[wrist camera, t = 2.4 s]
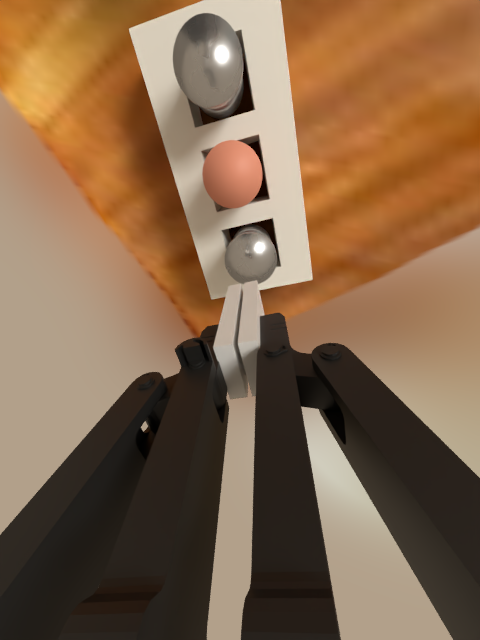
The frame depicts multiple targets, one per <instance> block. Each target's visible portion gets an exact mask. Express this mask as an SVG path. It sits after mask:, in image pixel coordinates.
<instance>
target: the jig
mask: <svg viewBox="0 0 480 640" xmlns="http://www.w3.org/2000/svg"><path fill="white" fill-rule="evenodd" d="M202 13H211V14H215V15H218V16H220V17H221V18H223V19H224V20H225V21H227V22H228V23H229V24H230V25H231V27H232V28H233V30H234V31H235V33H236V35H237V37H238V39H239V42H240V45H241V49H242V55H243V59H244V58H245V64H246V70H247V76H248V82H249V88H250V94H251V100H252V105H253V111H249V112H246V113H243V114H239V115H236V116H233V117H230V118H226V119H223V120H220V121H216V122H213V123H210V124H206V125H203V122H202V118H201V114H200V110H199V106H197V105H196V104H194V103H193V102H192V101H191V100H190V99H189V98H188V97H187V96H186V95H185V94H184V92H183V91H182V89H181V88H180V86H179V84H178V82H177V79H176V76H175V73H174V68H173V48H174V44H175V40H176V37H177V35H178V33H179V31H180V29H181V28H182V26H183V25H184V24H185V22H187V21H188V20H189V19H190V18H192V17H193V16H195V15H198V14H202ZM129 32H130V35H131V38H132V42H133V45H134V48H135V51H136V55H137V58H138V61H139V64H140V68H141V71H142V74H143V77H144V81H145V84H146V87H147V91H148V94H149V97H150V100H151V104H152V107H153V110H154V113H155V117H156V120H157V123H158V126H159V130H160V133H161V136H162V139H163V143H164V146H165V149H166V153H167V156H168V159H169V162H170V166H171V169H172V172H173V175H174V179H175V182H176V185H177V188H178V192H179V195H180V198H181V201H182V205H183V208H184V211H185V215H186V218H187V221H188V224H189V228H190V231H191V234H192V237H193V241H194V244H195V247H196V250H197V254H198V257H199V260H200V263H201V267H202V270H203V273H204V277H205V280H206V283H207V286H208V290H209V293H210V296H211V299H217V298H222V297H226V294H227V290H228V286H231V285H236V284H241V283H239V282H237V281H236V280H234V279H233V278H232V277H231V276H230V275H229V273H228V271H227V269H226V266H225V253H226V250H227V247H228V245H229V243H230V242H231V237H230V233H229V228H233V227H237V226H241V225H246V224H250V223H254V222H258V221H263V220H267V219H271V218H272V223H273V229H274V235H275V241H276V247H277V252H278V253H276V254H277V265H276V268H275V270H274V272H273V274H272V275H271V276H270V278H268V279H267V280H266V281H264V282H262V283H260V284H258V287H259V290H263V289H268V288H273V287H278V286H283V285H289V284H294V283H299V282H304V281H309V280H313V278H312V269H311V260H310V252H309V243H308V235H307V226H306V217H305V209H304V200H303V191H302V183H301V174H300V165H299V157H298V148H297V139H296V131H295V122H294V113H293V105H292V96H291V87H290V79H289V70H288V61H287V53H286V44H285V36H284V27H283V18H282V10H281V1H280V0H203V1H201V2H198V3H195V4H193V5H190V6H187V7H185V8H182V9H179V10H177V11H174V12H171V13H169V14H166V15H163V16H161V17H158V18H156V19H153V20H150V21H148V22H145V23H142V24H140V25H137V26H134V27H132V28H129ZM228 140H236V141H240V142H243V143H245V144H251V143H254V142H258V141H259V147H260V152H261V158H262V164H263V170H264V176H265V182H266V188H267V194H268V195H266V196H262V197H258V198H254V199H253V200H252V201H251V202H250V203H248V204H247V205H245V206H243V207H239V208H226V207H223V206H221V205H219V204H217V203H216V202H215V201H214V200H213V199H212V198H211V197H210V196H209V194H208V193H207V191H206V189H205V186H204V183H203V176H202V172H203V165H204V161H205V159H206V157H207V155H208V153H209V152H210V151H211V149H212V148H214V147H215V146H216V145H217V144H219V143H221V142H224V141H228ZM241 286H242V290H243V292H244V284H241Z"/></svg>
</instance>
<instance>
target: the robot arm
mask: <svg viewBox="0 0 480 640" xmlns="http://www.w3.org/2000/svg"><path fill="white" fill-rule="evenodd" d="M175 352H176V354H177V356H178V359H179V361H180V364H181V369H180V372H179V373H178V374H176V375H173V376H171V377H168V378H165V379H163V376H162V375H161V374H160V373H158V372H150V373H146V374H144V375H142V376H140V377H139V378H137V379H136V380H135V381H134V382H133V383H132V384H131V385H130V386H129V387H128V388H127V389H126V391H125V392H124V393H123V394H122V395H121V396H120V398H119V399H118V400H117V401H116V402H115V404H113V406H112V407H111V408H110V409H109V410H108V411H107V412H106V414H105V415H104V416H103V417H102V418H101V419H100V421H99V422H98V423H97V424H96V425H95V427H93V429H92V430H91V431H90V432H89V433H88V434H87V436H86V437H85V438H84V439H83V440H82V441H81V443H80V444H79V445H78V446H77V447H76V448H75V449H74V451H73V452H72V453H71V454H70V455H69V456H68V458H67V459H66V460H65V461H64V462H63V463H62V464H61V466H60V467H59V468H58V469H57V470H56V471H55V473H54V474H53V475H52V476H51V477H50V478H49V479H48V481H47V482H46V483H45V484H44V485H43V486H42V488H41V489H40V490H39V491H38V492H37V493H36V494H35V496H34V497H33V498H32V499H31V500H30V501H29V502H28V504H27V505H26V506H25V507H24V508H23V509H22V511H21V512H20V513H19V514H18V515H17V516H16V517H15V519H14V520H13V521H12V522H11V523H10V524H9V526H8V527H7V528H6V529H5V530H4V531H3V532H2V534H1V535H0V640H207V637H206V636H207V621H208V611H209V601H210V592H211V583H212V573H213V562H214V553H215V543H216V533H217V523H218V513H219V503H220V493H221V483H222V473H223V463H224V454H225V443H226V434H227V423H228V414H229V413H228V412H229V406H228V402H227V399H226V396H227V391H228V394H229V397H230V399H236V398H243V397H247V395H248V394H247V393H248V382H249V385H250V389H251V393H252V396H256V408H255V409H256V410H255V449H254V490H253V491H254V492H253V531H252V571H251V584H250V589H249V591H248V594H247V596H246V598H245V602H244V608H243V616H242V630H241V640H341V638H340V632H339V626H338V621H337V614H336V608H335V603H334V597H333V591H332V585H331V580H330V573H329V568H328V561H327V556H326V550H325V544H324V538H323V532H322V527H321V520H320V515H319V509H318V503H317V497H316V491H315V485H314V480H313V474H312V468H311V462H310V456H309V451H308V444H307V438H306V433H305V427H304V421H303V415H302V409H301V406H302V407H310V408H316V409H319V411H320V414H321V416H322V417H323V419H324V421H325V422H326V424H327V426H328V427H329V429H330V431H331V432H332V434H333V436H334V438H335V439H336V441H337V443H338V444H339V446H340V448H341V450H342V451H343V453H344V455H345V456H346V458H347V460H348V461H349V463H350V465H351V467H352V468H353V470H354V472H355V473H356V475H357V477H358V478H359V480H360V482H361V484H362V485H363V487H364V488H365V490H366V492H367V493H368V495H369V497H370V499H371V500H372V502H373V504H374V506H375V507H376V509H377V511H378V512H379V514H380V516H381V517H382V519H383V521H384V522H385V524H386V526H387V527H388V529H389V531H390V533H391V535H392V536H393V538H394V540H395V541H396V543H397V545H398V546H399V548H400V550H401V552H402V553H403V555H404V557H405V558H406V560H407V562H408V563H409V565H410V567H411V569H412V570H413V572H414V574H415V575H416V577H417V578H418V580H419V582H420V584H421V585H422V587H423V589H424V590H425V592H426V594H427V596H428V597H429V599H430V601H431V603H432V604H433V606H434V608H435V609H436V611H437V613H438V614H439V616H440V618H441V620H442V621H443V623H444V625H445V626H446V628H447V630H448V631H449V633H450V635H451V636H452V638H453V640H480V478H479V477H478V476H477V475H476V474H475V473H474V472H473V471H472V470H471V469H470V468H469V467H468V466H467V465H466V464H465V463H464V462H463V461H462V460H461V459H460V458H459V457H458V456H457V455H456V454H455V453H454V452H453V451H452V450H451V449H449V447H448V446H447V445H445V443H444V442H443V441H442V440H441V439H440V438H439V437H438V436H437V435H436V434H435V433H433V431H432V430H431V429H429V427H428V426H426V425H425V424H424V423H423V422H422V421H421V420H420V419H419V418H418V417H417V416H416V415H415V414H414V413H413V412H412V411H411V410H410V409H409V408H408V407H407V406H406V405H405V404H404V403H403V402H402V401H401V400H400V399H399V398H398V397H397V396H396V395H395V394H394V393H393V392H392V391H391V390H390V389H389V388H388V387H387V386H386V385H385V384H384V383H383V382H382V381H381V380H380V379H379V378H378V377H377V376H376V375H375V374H374V373H373V372H372V371H371V370H370V369H369V368H368V367H367V366H366V365H365V364H364V363H363V362H362V361H361V360H360V359H358V358H357V356H356V355H354V353H353V352H351V351H350V350H349V349H348V348H347V347H345V346H344V345H341V344H337V343H327V344H322V345H320V346H317V347H316V348H315V349H314V350H313V351H312V354H306V353H300V352H297V351H295V350H293V349H292V348H291V346H290V343H289V337H288V332H287V327H286V322H285V317H284V316H283V315H282V314H280V313H275V314H269V315H264V310H263V306H262V301H261V296H260V292H259V287H258V282H257V280H256V281H251V282H246V283H244V292H243V290H242V286H241V284H236V285H231V286H228V290H227V294H226V298H225V302H224V306H223V310H222V314H221V318H220V322H219V324H218V325H212V326H207V327H206V328H205V329H204V330H203V331H202V333H201V336H200V338H192V339H189V340H186V341H184V342H182V343H181V344H180V345H178V346H177V347H176V349H175ZM145 421H146V423H147V425H148V428H147V429H146V430H145V431H144V432H143V431H142V429H141V426H142V424H143V423H144V422H145Z"/></svg>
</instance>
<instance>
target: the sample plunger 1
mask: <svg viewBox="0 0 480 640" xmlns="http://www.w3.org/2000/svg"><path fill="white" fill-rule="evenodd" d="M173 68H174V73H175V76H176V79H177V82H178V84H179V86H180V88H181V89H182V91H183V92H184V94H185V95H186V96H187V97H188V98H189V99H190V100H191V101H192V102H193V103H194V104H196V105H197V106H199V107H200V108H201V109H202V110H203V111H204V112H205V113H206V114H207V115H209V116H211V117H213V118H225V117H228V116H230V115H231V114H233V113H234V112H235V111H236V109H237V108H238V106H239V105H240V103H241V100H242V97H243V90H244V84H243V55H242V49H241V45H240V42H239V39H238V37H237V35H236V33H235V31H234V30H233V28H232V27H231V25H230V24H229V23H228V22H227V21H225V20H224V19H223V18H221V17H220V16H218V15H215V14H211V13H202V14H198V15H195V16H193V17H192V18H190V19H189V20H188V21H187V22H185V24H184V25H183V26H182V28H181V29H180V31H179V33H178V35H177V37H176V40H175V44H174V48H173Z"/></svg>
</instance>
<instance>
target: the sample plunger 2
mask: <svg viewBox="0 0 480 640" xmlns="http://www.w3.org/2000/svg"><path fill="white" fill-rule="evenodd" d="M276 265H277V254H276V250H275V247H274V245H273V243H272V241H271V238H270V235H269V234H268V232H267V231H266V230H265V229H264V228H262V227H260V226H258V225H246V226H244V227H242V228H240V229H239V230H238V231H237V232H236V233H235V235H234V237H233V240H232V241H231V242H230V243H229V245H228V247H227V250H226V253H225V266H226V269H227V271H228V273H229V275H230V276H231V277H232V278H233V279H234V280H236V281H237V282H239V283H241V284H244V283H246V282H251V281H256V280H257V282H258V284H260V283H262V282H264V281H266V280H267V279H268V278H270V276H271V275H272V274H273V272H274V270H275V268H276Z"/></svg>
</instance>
